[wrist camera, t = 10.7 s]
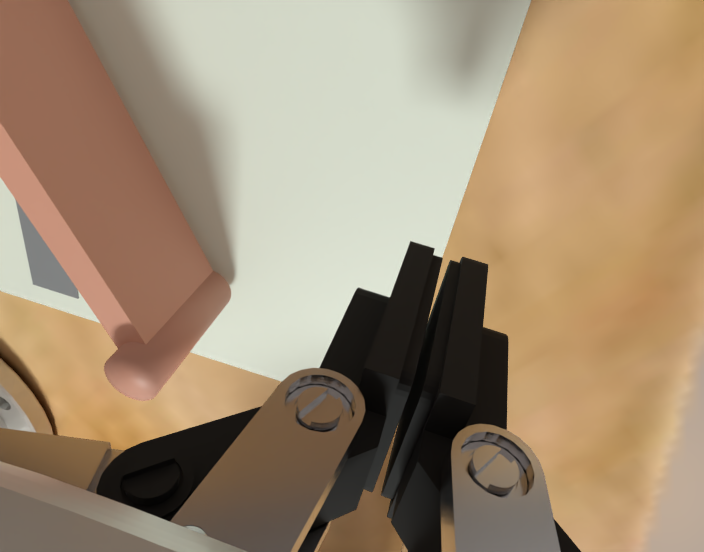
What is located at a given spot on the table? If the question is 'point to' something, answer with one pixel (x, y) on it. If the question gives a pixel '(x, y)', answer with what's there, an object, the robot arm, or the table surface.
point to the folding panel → (100, 197)
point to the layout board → (292, 149)
